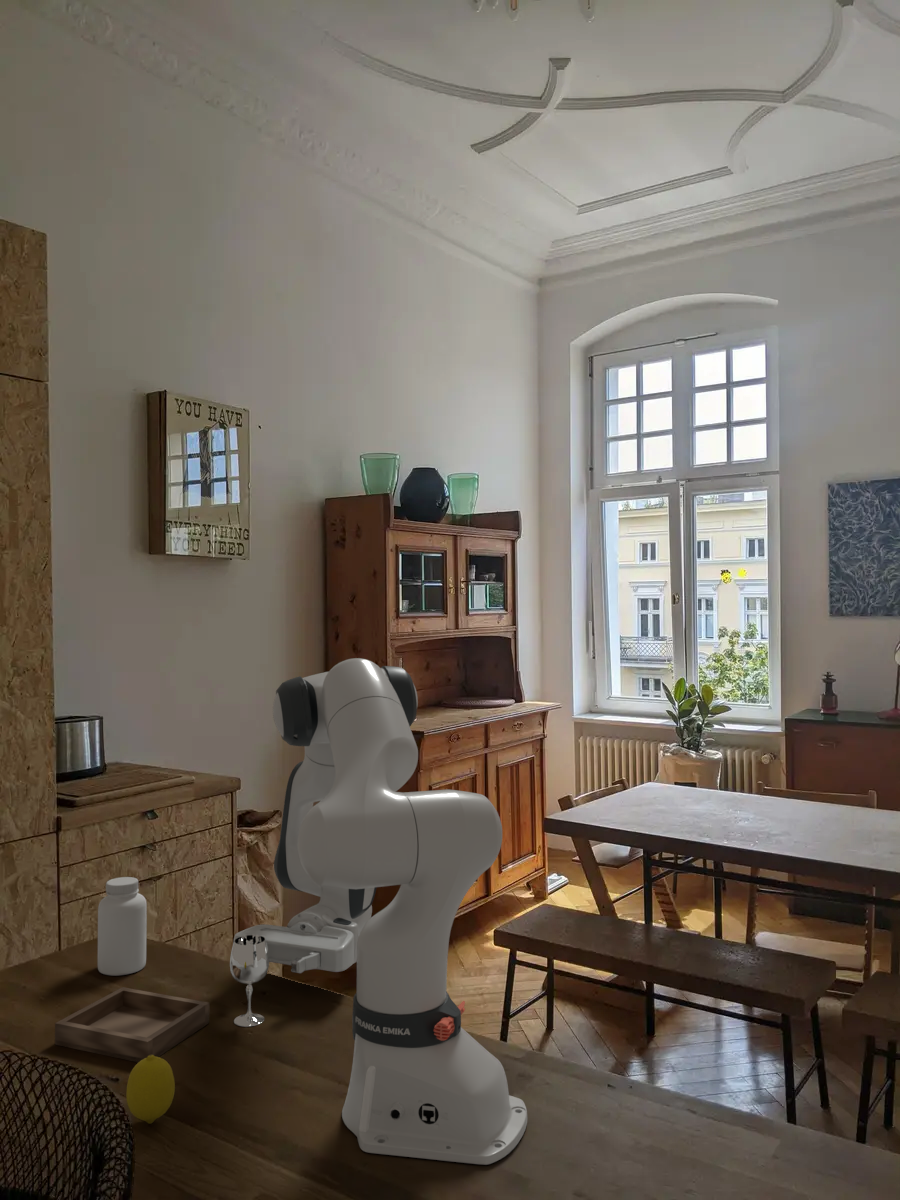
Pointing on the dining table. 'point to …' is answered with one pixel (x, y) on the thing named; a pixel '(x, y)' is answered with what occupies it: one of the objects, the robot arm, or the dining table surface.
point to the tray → (132, 1024)
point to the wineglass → (249, 970)
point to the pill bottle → (122, 928)
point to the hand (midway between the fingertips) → (268, 963)
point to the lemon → (150, 1088)
